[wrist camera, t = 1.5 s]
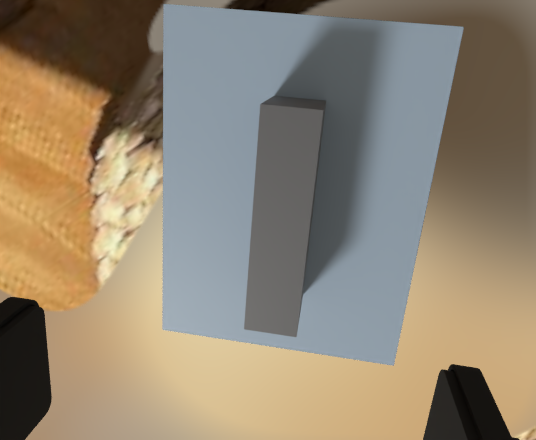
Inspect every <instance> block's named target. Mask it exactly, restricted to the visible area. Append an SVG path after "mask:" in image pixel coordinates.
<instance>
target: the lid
mask: <svg viewBox="0 0 536 440" xmlns="http://www.w3.org/2000/svg"><path fill="white" fill-rule="evenodd" d="M463 29H464V27H459V26H446V25H432V24H419V23H407V22H406V23H405V22H394V21H381V20H367V19H354V18H340V17H328V16H314V15H302V14H289V13H276V12H263V11H249V10H236V9H223V8H210V7H197V6H183V5H170V4H164V45H163V330H168V331H174V332H181V333H188V334H193V335H200V336H206V337H213V338H219V339H226V340H232V341H239V342H246V343H251V344H258V345H265V346H271V347H277V348H284V349H290V350H296V351H303V352H309V353H316V354H322V355H329V356H335V357H342V358H348V359H354V360H361V361H367V362H374V363H380V364H387V365H394V362H395V357H396V352H397V347H398V342H399V338H400V333H401V328H402V323H403V318H404V313H405V308H406V304H407V299H408V294H409V290H410V285H411V280H412V275H413V270H414V265H415V260H416V256H417V251H418V246H419V241H420V236H421V231H422V227H423V222H424V217H425V212H426V207H427V203H428V198H429V193H430V188H431V183H432V178H433V173H434V169H435V163H436V159H437V154H438V149H439V144H440V139H441V135H442V130H443V125H444V120H445V116H446V111H447V106H448V101H449V96H450V91H451V87H452V81H453V77H454V72H455V67H456V62H457V58H458V53H459V48H460V43H461V38H462V33H463Z"/></svg>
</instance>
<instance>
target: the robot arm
mask: <svg viewBox="0 0 536 440" xmlns="http://www.w3.org/2000/svg"><path fill="white" fill-rule="evenodd" d="M45 327H46V326H45V315H44V310H43V309H42V308H41V307H39V305H38V303H37V302H36V301H35V300H30V299H24V298H17V297H10V298H7V299H6V300H4V301H3V302H2V303H0V440H25V439H26V437H27V436H28V435H29V434H30V433H31V432H32V430H33V429H34V428H35V427H36V426H37V424H38V423H39V422H40V421H41V420H42V418H43V417H44V416H45V415H46V413H47V412H48V410H49V407H50V404H51V385H50V374H49V362H48V350H47V339H46V328H45ZM423 440H519V439H518V438H512V437H511V435H510V433H509V431H508V429H507V426H506V424H505V422H504V420H503V418H502V416H501V413H500V411H499V409H498V407H497V405H496V403H495V400H494V398H493V396H492V394H491V392H490V390H489V388H488V385H487V383H486V381H485V379H484V377H483V375H482V372H481V371H480V369H478V368H473V367H466V366H460V365H454V364H452V365H450V367H449V369H448V370H441V371H440V373H439V376H438V380H437V384H436V388H435V392H434V396H433V401H432V405H431V409H430V413H429V417H428V421H427V426H426V430H425V434H424V438H423Z"/></svg>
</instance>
